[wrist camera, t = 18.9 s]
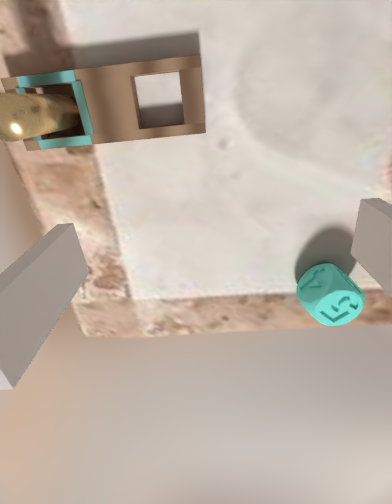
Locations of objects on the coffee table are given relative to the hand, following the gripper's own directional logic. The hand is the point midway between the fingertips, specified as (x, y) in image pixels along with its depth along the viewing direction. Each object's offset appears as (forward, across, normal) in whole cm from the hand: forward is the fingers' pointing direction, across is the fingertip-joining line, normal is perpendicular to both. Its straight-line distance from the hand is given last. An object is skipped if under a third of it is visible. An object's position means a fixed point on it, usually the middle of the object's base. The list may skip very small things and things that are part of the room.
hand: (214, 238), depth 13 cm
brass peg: (+33, -20, +6) cm, 39 cm away
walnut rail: (+33, -13, +6) cm, 36 cm away
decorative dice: (+33, +20, -27) cm, 47 cm away
